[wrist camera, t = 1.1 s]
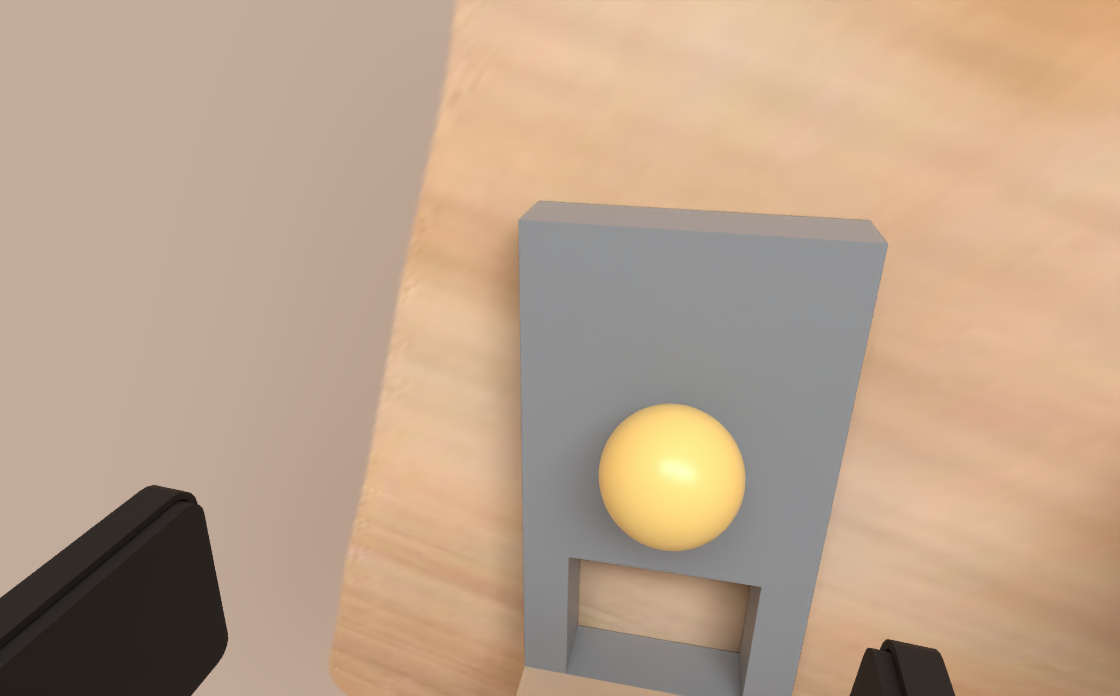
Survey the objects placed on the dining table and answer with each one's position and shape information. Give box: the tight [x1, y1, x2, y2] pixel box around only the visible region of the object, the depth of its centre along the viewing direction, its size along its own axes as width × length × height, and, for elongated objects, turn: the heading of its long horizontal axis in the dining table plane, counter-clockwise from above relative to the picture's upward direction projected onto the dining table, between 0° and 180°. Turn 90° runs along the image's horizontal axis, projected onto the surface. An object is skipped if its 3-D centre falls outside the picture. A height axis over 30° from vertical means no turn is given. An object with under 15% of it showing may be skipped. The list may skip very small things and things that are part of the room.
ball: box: [599, 404, 746, 551], centre depth 24 cm, size 5×5×5 cm
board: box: [516, 201, 888, 696], centre depth 28 cm, size 12×24×6 cm, turn 179°
